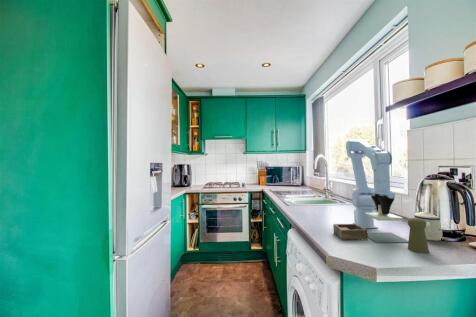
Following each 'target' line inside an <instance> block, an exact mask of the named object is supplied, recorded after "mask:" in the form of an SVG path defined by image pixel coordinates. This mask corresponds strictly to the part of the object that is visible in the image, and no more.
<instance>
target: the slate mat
mask: <svg viewBox="0 0 476 317" xmlns="http://www.w3.org/2000/svg"><path fill="white" fill-rule="evenodd" d="M367 235H368V240H371V241H372V242H374V243H376V244H405V243H406V244H408V241H409V239H406V238H403V237H401V236H399V235H397V234H395V233H393V232H367Z"/></svg>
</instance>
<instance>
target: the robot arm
mask: <svg viewBox="0 0 476 317" xmlns="http://www.w3.org/2000/svg"><path fill="white" fill-rule="evenodd" d="M345 148H346V149H345V150H346V154H347V157H348V158H350V160H351V164H352V170H353V175H354V180H355V184H356V185H355V186H356V189H354V190H353V192H352V194H351V197H352V198H351V199H352V200H351V201H352V205H353V206H354V208H355V209H354V211H353V215H354V216H353V217H354V218H353V219H354V220H353V221H354V222H352V224H357V225H359V226H361V227H363V228H364V229H378V228H379V227H378V226H376V225H375V224H374V222H375V221H374V220H375V219H374V218H372V217H369V215H366V214H365V212H366V213H374V210H375V208H376V211H377V212H376V213H378V205H381V209H382V214H383V215H389V213H390V210H391V207H392V204H393V202H394V201H395V199H396V193H395V192H392V191H391V180H390V179H391V177H390V165H391V164H392V163H393V162H392V161H393V156H392V154H391V152H390V151H389V150H387V151H383V150H382V149H380V148H378V147H377V145H376V144H375V145H374V144H372V145H371V144H370V141H369V140H368V139H367V138H364V139H348V140H347V141H346V143H345ZM365 157H366V158H368V159H369V161H370V164H371V169H372V170H373V189H371V188H369V187H368V181H367V178H366V172H365V168H364V167H365V166H364V163H363V158H365Z"/></svg>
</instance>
